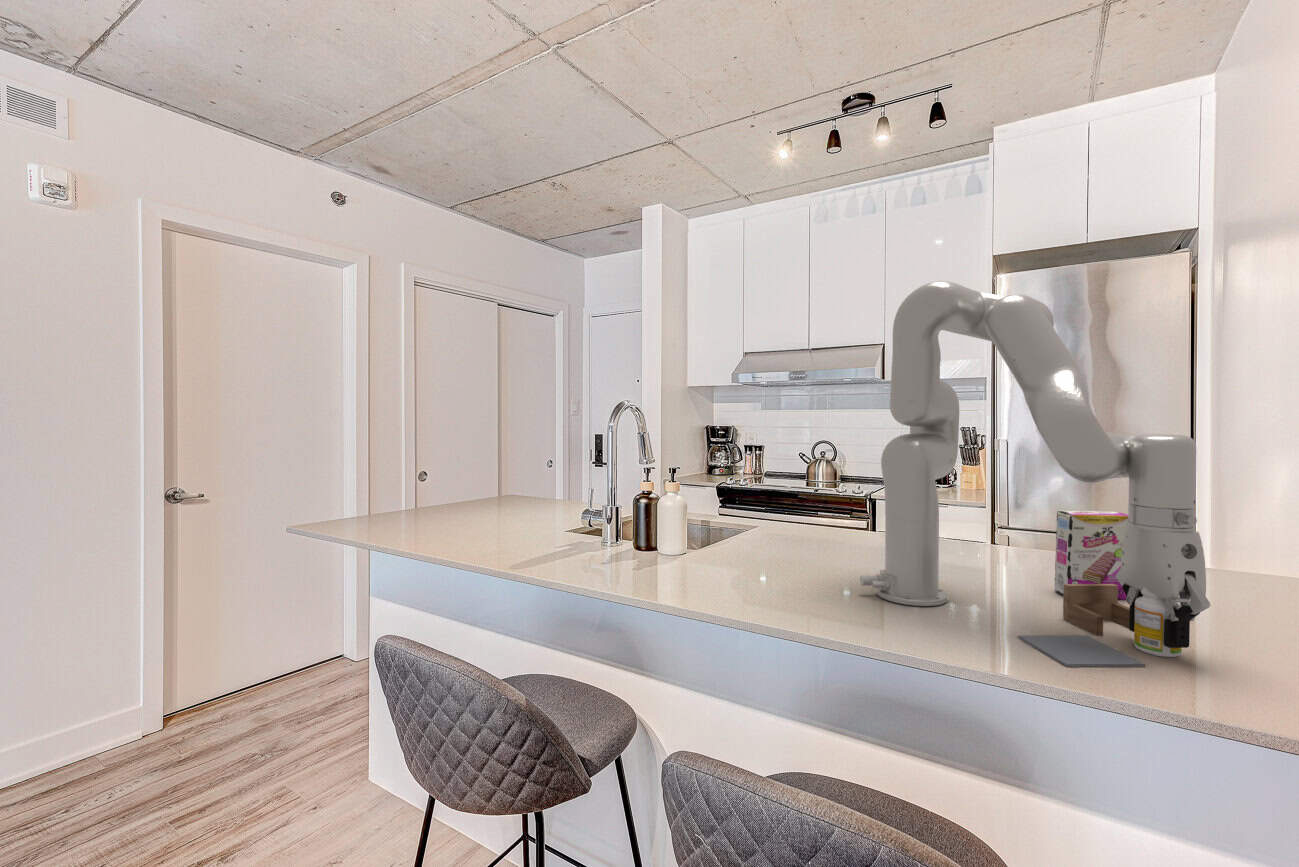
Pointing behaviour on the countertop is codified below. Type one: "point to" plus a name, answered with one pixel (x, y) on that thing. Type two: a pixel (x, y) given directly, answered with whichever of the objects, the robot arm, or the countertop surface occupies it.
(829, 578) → the countertop surface
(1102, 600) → the shelf slot
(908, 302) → the robot arm
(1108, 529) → the candy bar box
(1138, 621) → the supplement bottle
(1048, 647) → the slate mat
